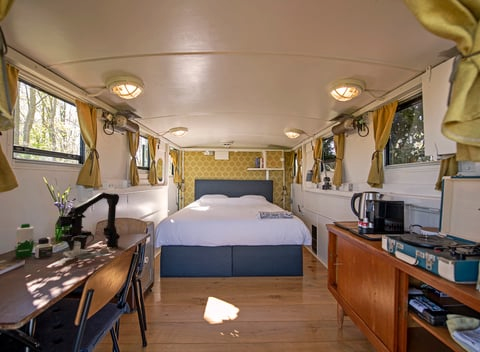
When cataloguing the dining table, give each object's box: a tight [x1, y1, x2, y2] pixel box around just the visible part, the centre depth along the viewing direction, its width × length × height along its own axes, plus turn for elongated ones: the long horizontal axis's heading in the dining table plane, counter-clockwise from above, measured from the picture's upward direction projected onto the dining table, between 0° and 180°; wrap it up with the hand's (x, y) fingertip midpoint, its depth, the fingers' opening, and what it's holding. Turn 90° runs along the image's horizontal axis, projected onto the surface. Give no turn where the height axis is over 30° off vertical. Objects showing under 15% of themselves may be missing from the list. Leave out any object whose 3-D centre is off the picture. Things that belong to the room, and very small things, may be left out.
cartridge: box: [70, 241, 81, 255], centre depth 154 cm, size 5×5×8 cm
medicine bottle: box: [34, 236, 54, 259], centre depth 150 cm, size 7×7×12 cm
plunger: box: [100, 245, 108, 250], centre depth 158 cm, size 4×4×3 cm
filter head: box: [75, 248, 112, 261], centre depth 153 cm, size 18×10×3 cm, turn 145°
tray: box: [62, 249, 88, 259], centre depth 153 cm, size 10×10×2 cm
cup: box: [73, 230, 95, 250], centre depth 171 cm, size 10×14×12 cm
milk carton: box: [14, 223, 35, 259], centre depth 151 cm, size 9×9×20 cm
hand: (75, 249), depth 154 cm, fingers open, 6 cm apart
